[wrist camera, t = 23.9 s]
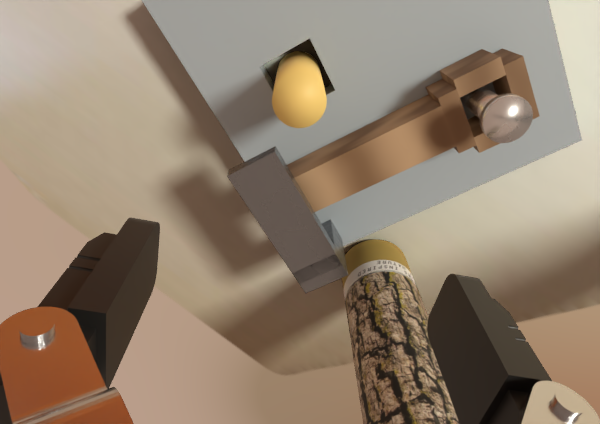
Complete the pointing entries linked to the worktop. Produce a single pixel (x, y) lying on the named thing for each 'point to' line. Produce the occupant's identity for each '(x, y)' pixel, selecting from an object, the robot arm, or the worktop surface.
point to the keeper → (290, 220)
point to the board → (369, 83)
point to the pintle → (499, 114)
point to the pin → (299, 90)
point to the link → (412, 130)
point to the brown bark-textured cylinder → (392, 340)
